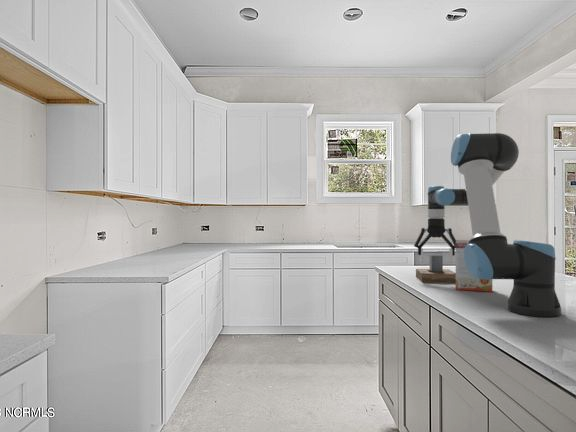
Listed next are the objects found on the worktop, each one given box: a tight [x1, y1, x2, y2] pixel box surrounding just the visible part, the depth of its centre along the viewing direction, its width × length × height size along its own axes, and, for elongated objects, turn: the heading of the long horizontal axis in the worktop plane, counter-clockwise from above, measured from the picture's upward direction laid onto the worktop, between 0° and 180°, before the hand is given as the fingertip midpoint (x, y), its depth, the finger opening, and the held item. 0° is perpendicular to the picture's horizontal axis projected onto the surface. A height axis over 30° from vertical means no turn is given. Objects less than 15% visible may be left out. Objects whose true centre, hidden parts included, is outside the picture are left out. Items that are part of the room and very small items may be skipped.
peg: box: [429, 253, 444, 273], centre depth 195 cm, size 5×5×12 cm
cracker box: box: [455, 239, 493, 293], centre depth 170 cm, size 14×6×21 cm, turn 68°
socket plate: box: [415, 268, 456, 284], centre depth 195 cm, size 16×16×4 cm
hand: (436, 262), depth 195 cm, fingers open, 13 cm apart
